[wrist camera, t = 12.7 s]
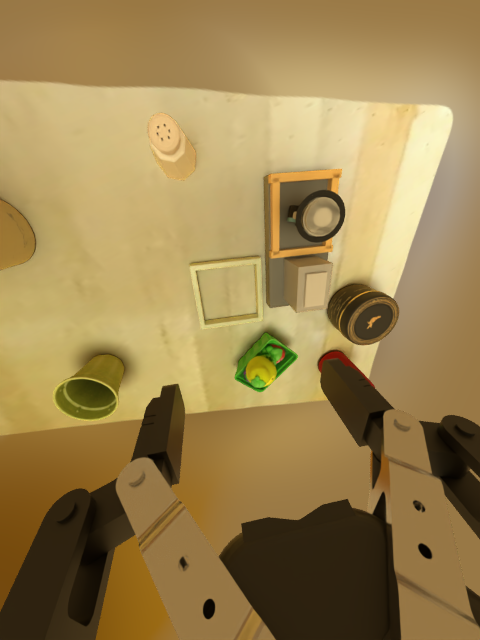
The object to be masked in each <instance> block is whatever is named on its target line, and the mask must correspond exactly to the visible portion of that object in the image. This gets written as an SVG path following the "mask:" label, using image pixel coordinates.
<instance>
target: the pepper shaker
mask: <svg viewBox="0 0 480 640" xmlns="http://www.w3.org/2000/svg"><path fill="white" fill-rule="evenodd" d="M148 135H149V138H150V147H151V150H152V152H153V155H154V157H155V159H156V162H157V164H158V165H159V166H160V167H161V169H162V170H163V171H164V173H165V174H166V175H167V177H168V178H173V179H178V180H183V181H184V180H185V179H186V178H187V177H188V176H189V175H190V174H191V173H193V172H194V171H195V159H196V151H195V150H194V148H193V147H192V145H191V143H190V142H189V140H188V139H187V137H186V136H185V134H184V133H183V131H182V130H181V128H180V127H179V125H178V124H177V122H176V121H175V120H173V119H172V118H171V117H170V116H169V115H167V114H164V113H157V114H155V115H153V116H152V117H151V118H150V120H149V123H148Z"/></svg>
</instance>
